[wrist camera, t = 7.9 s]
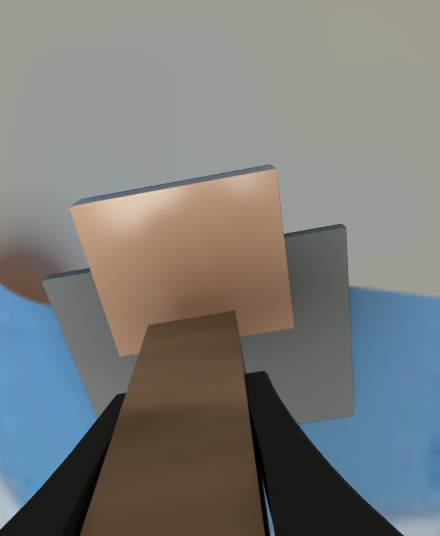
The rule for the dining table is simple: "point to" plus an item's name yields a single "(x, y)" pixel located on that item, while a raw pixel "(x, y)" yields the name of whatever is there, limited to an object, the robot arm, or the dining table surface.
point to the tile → (189, 253)
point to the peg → (183, 440)
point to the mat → (253, 346)
